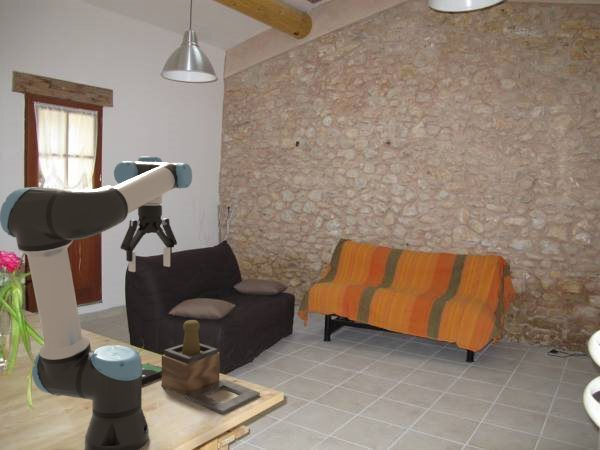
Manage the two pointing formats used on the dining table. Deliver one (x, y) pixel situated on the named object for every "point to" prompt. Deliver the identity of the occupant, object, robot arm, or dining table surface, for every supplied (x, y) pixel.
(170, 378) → the raised stand
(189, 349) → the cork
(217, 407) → the low frame
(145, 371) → the disk drive
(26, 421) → the dining table surface
